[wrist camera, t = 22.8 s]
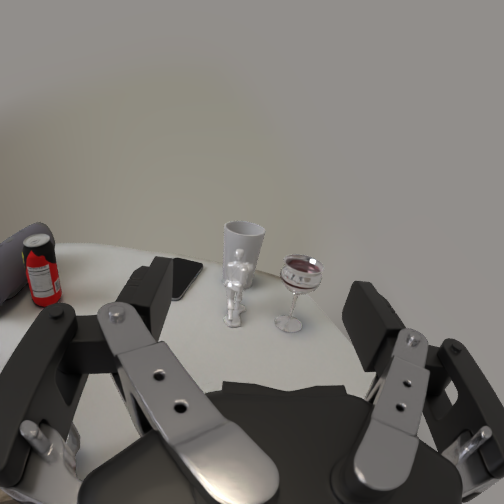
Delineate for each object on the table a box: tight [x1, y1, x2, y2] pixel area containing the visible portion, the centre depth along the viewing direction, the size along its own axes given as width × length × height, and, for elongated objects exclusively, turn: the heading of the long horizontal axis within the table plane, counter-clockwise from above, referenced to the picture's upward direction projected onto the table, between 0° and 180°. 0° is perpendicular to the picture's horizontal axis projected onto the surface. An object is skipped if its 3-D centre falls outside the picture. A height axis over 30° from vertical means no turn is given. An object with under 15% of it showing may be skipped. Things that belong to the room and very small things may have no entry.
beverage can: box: [22, 234, 62, 307], centre depth 41 cm, size 6×6×12 cm
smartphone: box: [171, 258, 203, 300], centre depth 58 cm, size 7×1×15 cm
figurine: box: [223, 249, 253, 327], centre depth 49 cm, size 5×9×12 cm, turn 1°
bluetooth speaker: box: [0, 222, 55, 304], centre depth 42 cm, size 23×9×10 cm, turn 2°
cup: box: [222, 221, 265, 289], centre depth 59 cm, size 8×8×12 cm
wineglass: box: [275, 254, 324, 332], centre depth 48 cm, size 7×7×12 cm
